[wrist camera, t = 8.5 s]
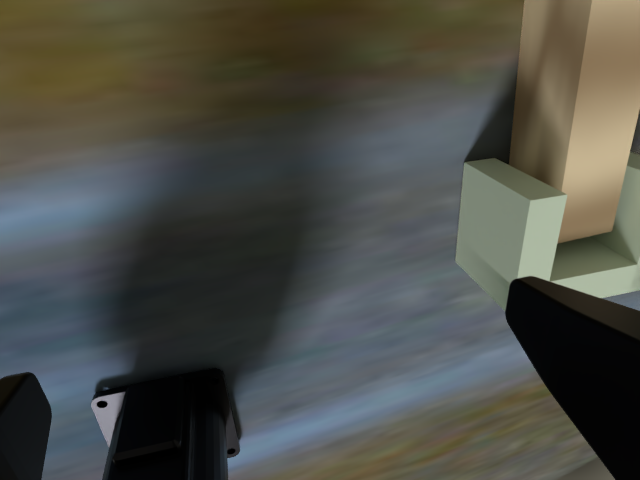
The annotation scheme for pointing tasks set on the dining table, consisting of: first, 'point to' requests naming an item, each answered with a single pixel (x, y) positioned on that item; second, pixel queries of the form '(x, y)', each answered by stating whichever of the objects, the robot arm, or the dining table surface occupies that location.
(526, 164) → the slat
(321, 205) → the dining table surface
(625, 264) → the end cap
